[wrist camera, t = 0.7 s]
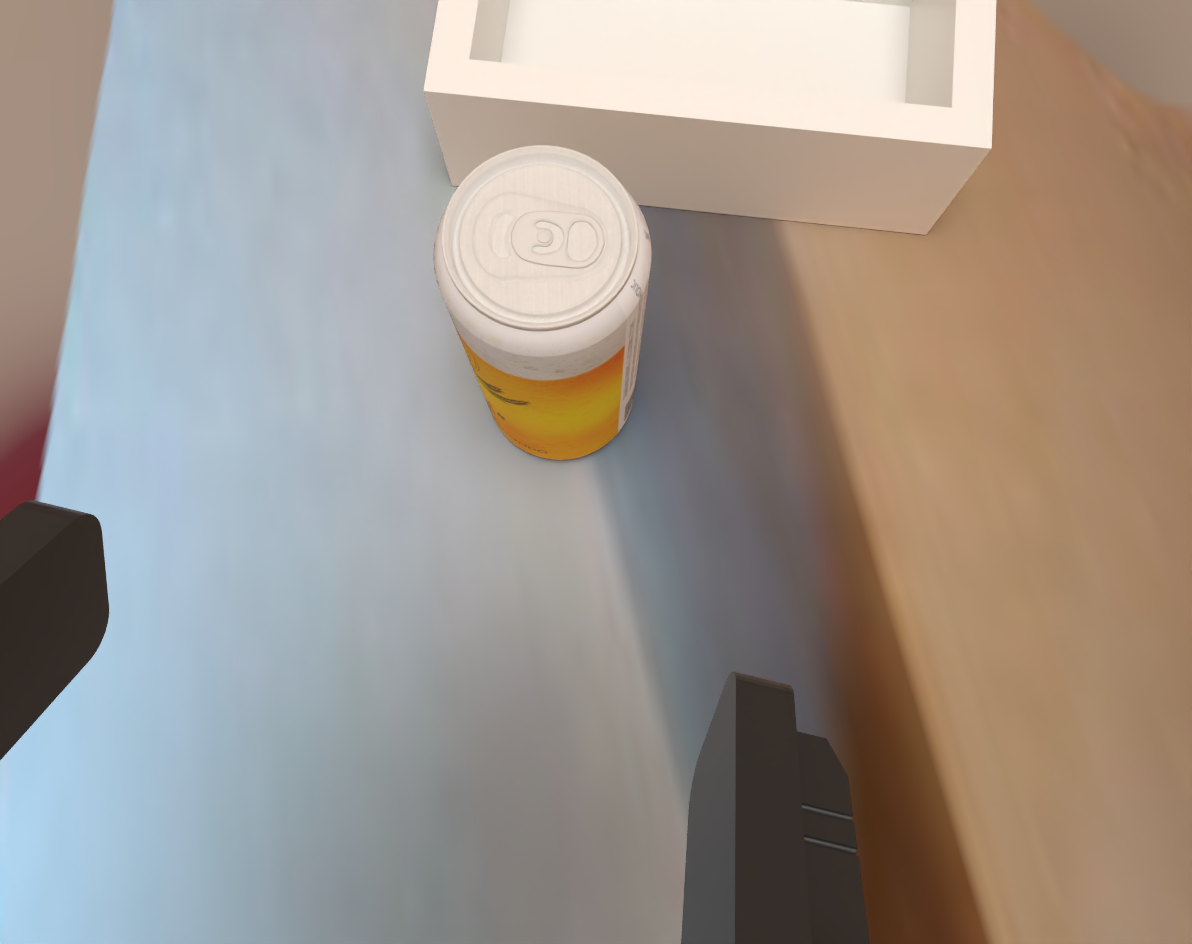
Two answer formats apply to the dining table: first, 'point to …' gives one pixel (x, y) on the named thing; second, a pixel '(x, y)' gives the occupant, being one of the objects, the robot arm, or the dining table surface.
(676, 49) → the white rectangular tray
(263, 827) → the dining table surface
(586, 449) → the beer can
